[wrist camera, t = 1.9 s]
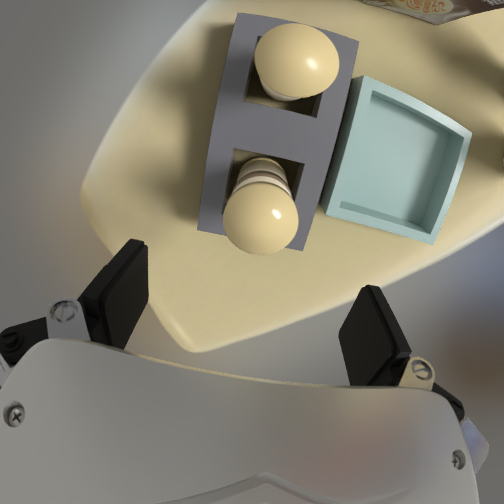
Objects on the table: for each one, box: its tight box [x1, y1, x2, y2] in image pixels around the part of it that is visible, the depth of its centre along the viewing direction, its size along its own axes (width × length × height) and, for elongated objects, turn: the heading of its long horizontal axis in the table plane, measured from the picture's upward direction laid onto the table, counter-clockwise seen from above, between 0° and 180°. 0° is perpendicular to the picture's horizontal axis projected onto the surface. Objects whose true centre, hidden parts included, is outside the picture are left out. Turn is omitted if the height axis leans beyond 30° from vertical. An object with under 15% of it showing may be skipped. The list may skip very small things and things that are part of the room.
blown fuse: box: [223, 157, 299, 255], centre depth 21 cm, size 5×5×10 cm
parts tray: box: [320, 75, 472, 245], centre depth 22 cm, size 13×13×3 cm
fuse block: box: [197, 13, 359, 251], centre depth 18 cm, size 20×10×10 cm, turn 169°
